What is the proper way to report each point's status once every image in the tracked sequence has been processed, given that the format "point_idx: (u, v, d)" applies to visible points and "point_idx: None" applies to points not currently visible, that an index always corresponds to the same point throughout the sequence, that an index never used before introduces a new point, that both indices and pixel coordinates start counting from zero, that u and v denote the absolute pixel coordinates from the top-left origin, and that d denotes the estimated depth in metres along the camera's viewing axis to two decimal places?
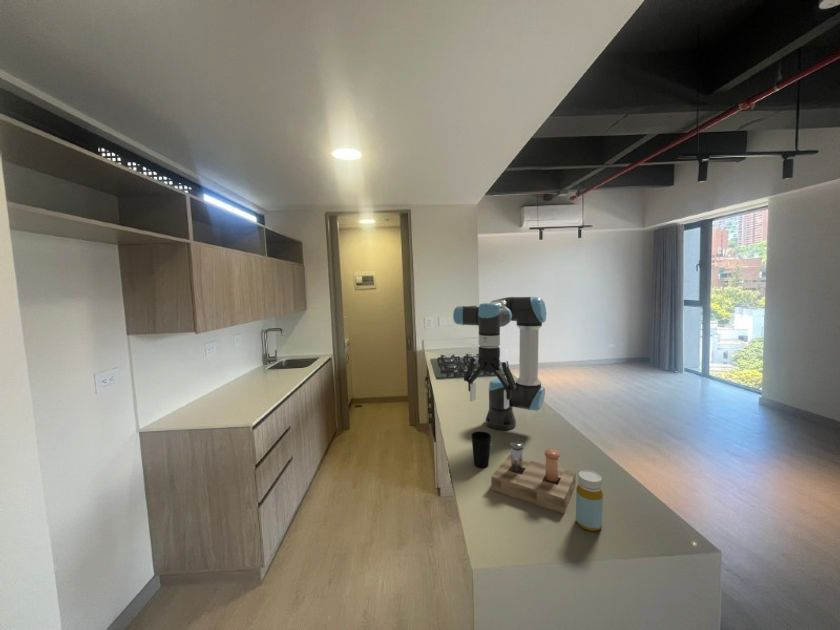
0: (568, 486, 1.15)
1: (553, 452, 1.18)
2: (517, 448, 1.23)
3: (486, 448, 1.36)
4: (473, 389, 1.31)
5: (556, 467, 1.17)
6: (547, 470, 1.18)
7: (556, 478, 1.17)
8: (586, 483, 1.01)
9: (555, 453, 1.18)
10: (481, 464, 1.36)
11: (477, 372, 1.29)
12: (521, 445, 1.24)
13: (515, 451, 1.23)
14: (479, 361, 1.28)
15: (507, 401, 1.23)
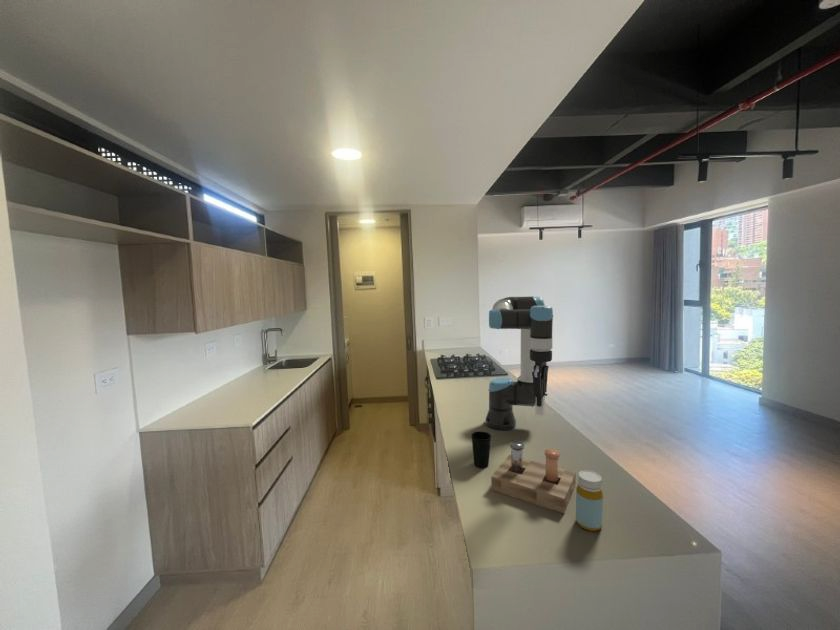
0: (568, 486, 1.15)
1: (553, 452, 1.18)
2: (517, 448, 1.23)
3: (486, 448, 1.36)
4: None
5: (556, 467, 1.17)
6: (547, 470, 1.18)
7: (556, 478, 1.17)
8: (586, 483, 1.01)
9: (555, 453, 1.18)
10: (481, 464, 1.36)
11: None
12: (521, 445, 1.24)
13: (515, 451, 1.23)
14: None
15: (539, 408, 1.26)
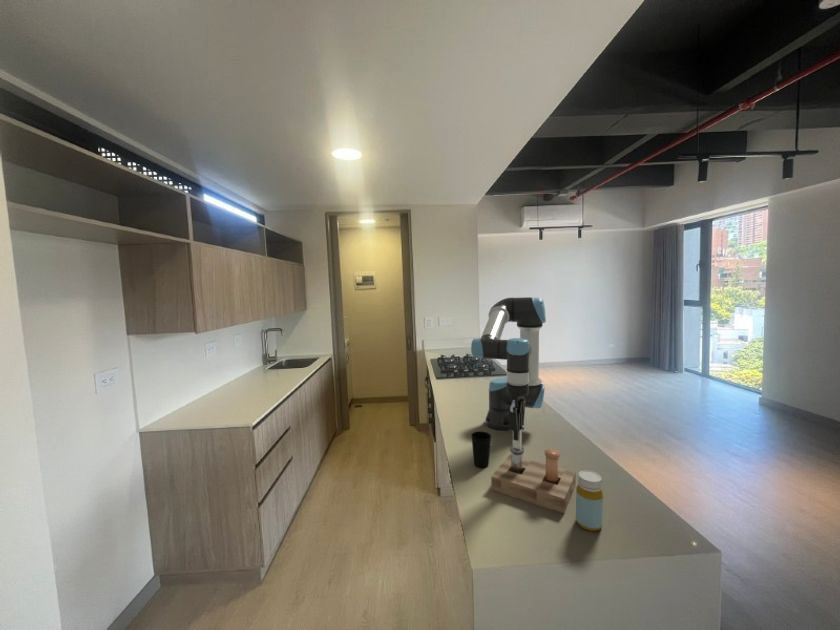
0: (568, 486, 1.15)
1: (553, 452, 1.18)
2: (517, 452, 1.23)
3: (486, 448, 1.36)
4: None
5: (556, 467, 1.17)
6: (547, 470, 1.18)
7: (556, 478, 1.17)
8: (586, 483, 1.01)
9: (555, 453, 1.18)
10: (481, 464, 1.36)
11: None
12: (521, 449, 1.24)
13: (515, 456, 1.24)
14: None
15: (516, 442, 1.24)
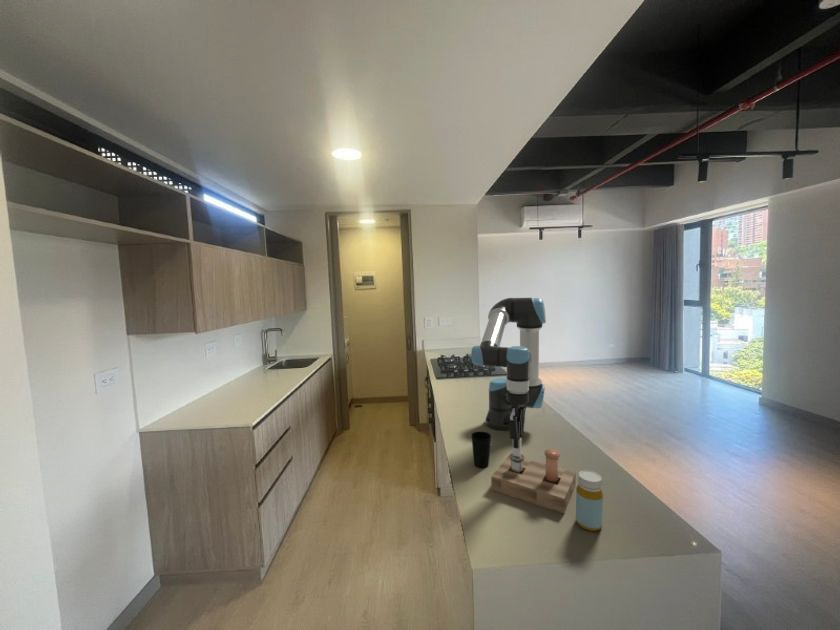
0: (568, 486, 1.15)
1: (553, 452, 1.18)
2: (517, 460, 1.23)
3: (486, 448, 1.36)
4: None
5: (556, 467, 1.17)
6: (547, 470, 1.18)
7: (556, 478, 1.17)
8: (586, 483, 1.01)
9: (555, 453, 1.18)
10: (481, 464, 1.36)
11: None
12: (521, 457, 1.24)
13: (515, 463, 1.24)
14: None
15: (516, 449, 1.25)
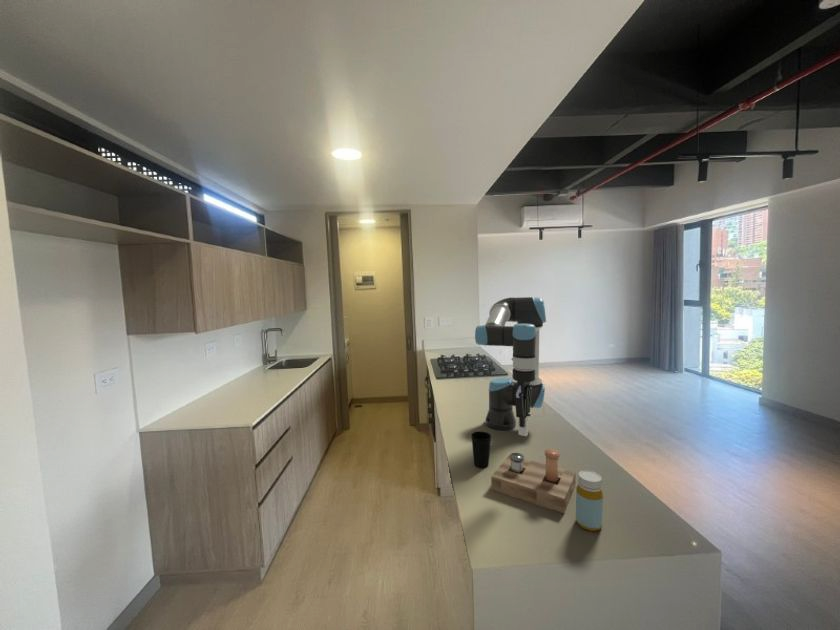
0: (568, 486, 1.15)
1: (553, 452, 1.18)
2: (517, 460, 1.23)
3: (486, 448, 1.36)
4: None
5: (556, 467, 1.17)
6: (547, 470, 1.18)
7: (556, 478, 1.17)
8: (586, 483, 1.01)
9: (555, 453, 1.18)
10: (481, 464, 1.36)
11: None
12: (521, 457, 1.24)
13: (515, 463, 1.24)
14: None
15: (522, 428, 1.22)
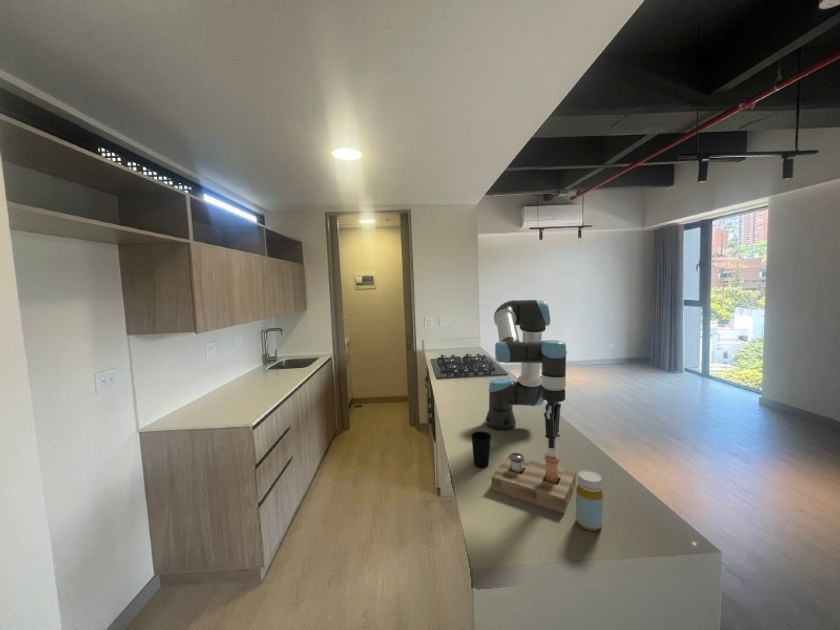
0: (568, 486, 1.15)
1: None
2: (517, 460, 1.23)
3: (486, 448, 1.36)
4: None
5: (556, 471, 1.17)
6: (547, 474, 1.18)
7: (556, 482, 1.17)
8: (586, 483, 1.01)
9: None
10: (481, 464, 1.36)
11: None
12: (521, 457, 1.24)
13: (515, 463, 1.24)
14: None
15: (551, 450, 1.18)
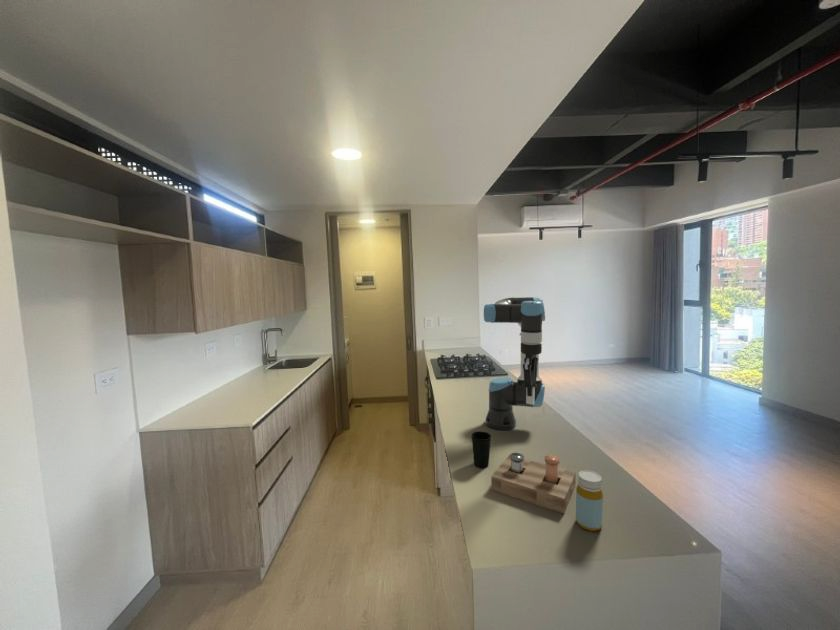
0: (568, 486, 1.15)
1: (553, 458, 1.18)
2: (517, 460, 1.23)
3: (486, 448, 1.36)
4: None
5: (556, 473, 1.17)
6: (547, 475, 1.18)
7: (556, 484, 1.18)
8: (586, 483, 1.01)
9: (555, 459, 1.18)
10: (481, 464, 1.36)
11: None
12: (521, 457, 1.24)
13: (515, 463, 1.24)
14: None
15: (529, 398, 1.33)
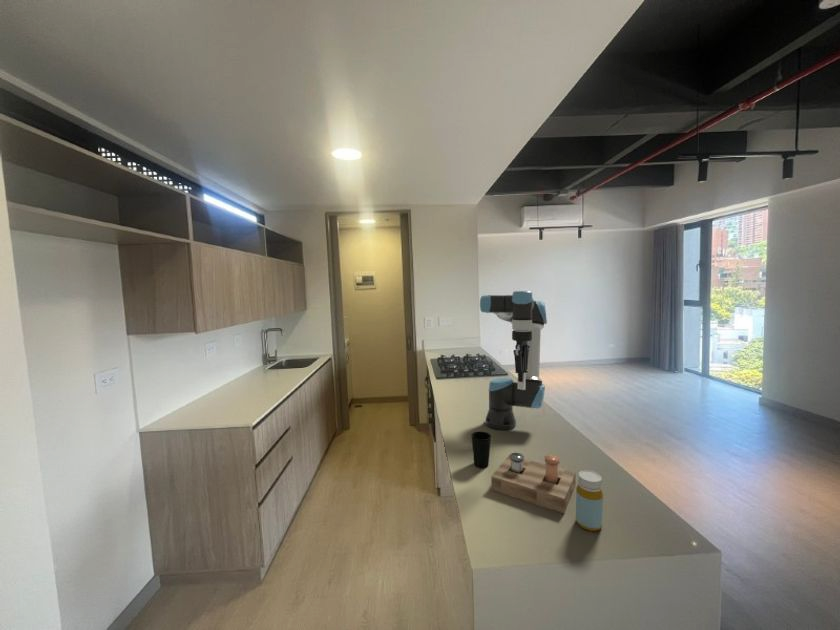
0: (568, 486, 1.15)
1: (553, 458, 1.18)
2: (517, 460, 1.23)
3: (486, 448, 1.36)
4: None
5: (556, 473, 1.17)
6: (547, 475, 1.18)
7: (556, 484, 1.18)
8: (586, 483, 1.01)
9: (555, 459, 1.18)
10: (481, 464, 1.36)
11: None
12: (521, 457, 1.24)
13: (515, 463, 1.24)
14: None
15: (520, 383, 1.39)
